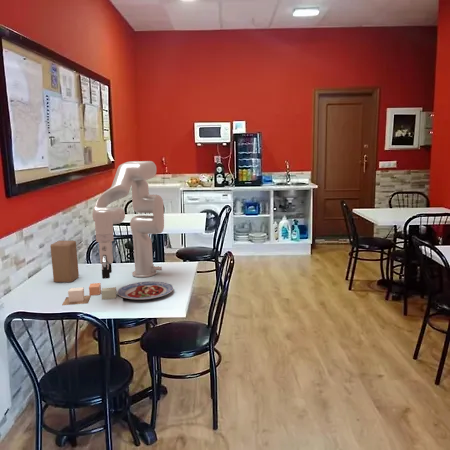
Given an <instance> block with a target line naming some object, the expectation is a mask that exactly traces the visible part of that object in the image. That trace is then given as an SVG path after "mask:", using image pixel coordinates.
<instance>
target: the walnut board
mask: <svg viewBox="0 0 450 450" xmlns="http://www.w3.org/2000/svg"><path fill="white" fill-rule="evenodd" d="M84 297H85V298H84V301H81V302H69V296H67V297H65V299H64V301H63V302H62V306H72V305H84V304H89V303H90V300H91V298H92V295H90V294H89V295H84Z"/></svg>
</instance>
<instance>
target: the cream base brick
mask: <svg viewBox="0 0 450 450" xmlns="http://www.w3.org/2000/svg"><path fill="white" fill-rule="evenodd" d="M67 295H68V296H67V297H69V302H81V301H84V298H85V297H84V296H85V288H84V287H71V288H69V289H68V290H67Z"/></svg>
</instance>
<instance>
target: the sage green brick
mask: <svg viewBox="0 0 450 450" xmlns="http://www.w3.org/2000/svg"><path fill="white" fill-rule="evenodd" d="M100 293H101V300H108V299H109V300H111V299H117V295H118V294H117V287H116V286H115V287H103V288H102V287H101V292H100Z"/></svg>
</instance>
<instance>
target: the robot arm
mask: <svg viewBox="0 0 450 450" xmlns="http://www.w3.org/2000/svg"><path fill="white" fill-rule="evenodd" d="M157 169H158V168H157V165H156V164H155V162H154V161H152V160H142V161H141V160H140V161H139V160H133V161H126V162H123V163H121V164H119V165H118V167H117V169H116V172H115V175H114V177H113V181H112V183H111V186H110V187H109V188H108V189H106V190H105V191H104V192H103V193H102V194H101V195H99V196H98V198H97V200H96V201H95V204H94V207H93V209H92V219H93V220H92V221H94V228H95V229H94V230H95V242H96V243H98V248H99V250H98V251H99V261H100V263H99V264H100V265H101V278H102V279H107V280H108V279H110V278H111V275H110V274H112V272H113V269H112V265H113V262H114V254H113V253H114V252H113V242H114V241H115V239H114V238H115V237H114V225H117V224H118V225H119V224H121V223H123V222H124V220H125V217H126V214H125V211H124V209H123V208H121V207H117V206H116V207H114V206H109V205H110V204H111V203H114V202H116V201H119V200H121V199H123V198H125V197H127V196H128V195H129V194H130V190H131V197H132V199H131V201H132V209H133V211H134V212H135V213H139V214H141V213H142V215H135V216H132V218H131V219H130V222H129V224H130V225H129V226H130V230H131V234H132V241H133V243H132V244H133V257H134V259H133V260H134V271H133V272H131V273H132V276H133V277H134V278H135V277H136V278H149V277H153V276H155V275H157V271H162V270H163V269H162V266H157V265H156V266H154V261H153V260H154V259H153V244H152V239H151V237H150V235H159V234H162V233H163V232H164V228H165V213H164V207H165V205H164V200H163V198H162V196H161V195H158V194H150V193H149V183H148V181H147V180H150V179H153V178H155V176H156V175H157ZM144 214H152V215H144Z"/></svg>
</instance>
